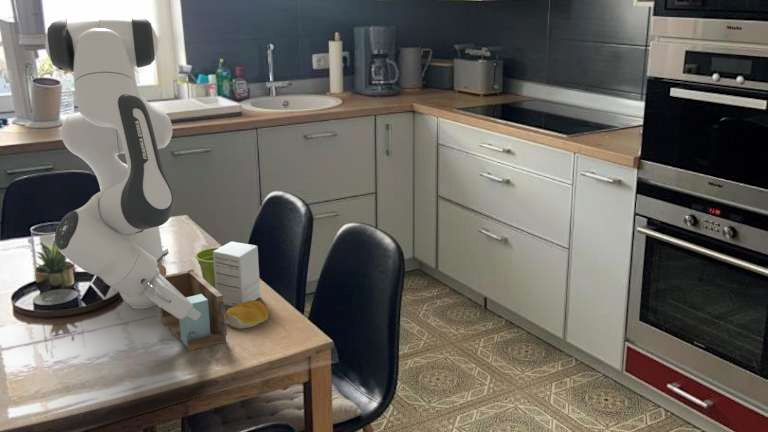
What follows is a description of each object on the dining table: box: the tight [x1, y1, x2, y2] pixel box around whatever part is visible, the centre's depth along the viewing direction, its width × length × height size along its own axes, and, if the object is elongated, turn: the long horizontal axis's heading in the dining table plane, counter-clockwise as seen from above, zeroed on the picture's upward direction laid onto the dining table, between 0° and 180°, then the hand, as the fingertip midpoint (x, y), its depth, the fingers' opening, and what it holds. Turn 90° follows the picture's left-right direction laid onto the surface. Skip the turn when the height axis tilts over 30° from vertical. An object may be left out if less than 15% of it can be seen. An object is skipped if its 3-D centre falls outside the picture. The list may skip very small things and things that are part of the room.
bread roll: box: [224, 300, 269, 330], centre depth 165 cm, size 8×9×4 cm
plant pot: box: [195, 246, 220, 288], centre depth 180 cm, size 9×9×9 cm
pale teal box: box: [179, 294, 212, 347], centre depth 155 cm, size 5×5×9 cm
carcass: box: [159, 269, 228, 352], centre depth 159 cm, size 18×8×10 cm, turn 34°
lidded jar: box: [119, 263, 167, 310], centre depth 172 cm, size 11×11×9 cm
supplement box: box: [213, 241, 261, 307], centre depth 173 cm, size 7×7×13 cm
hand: (188, 307), depth 154 cm, fingers open, 8 cm apart
